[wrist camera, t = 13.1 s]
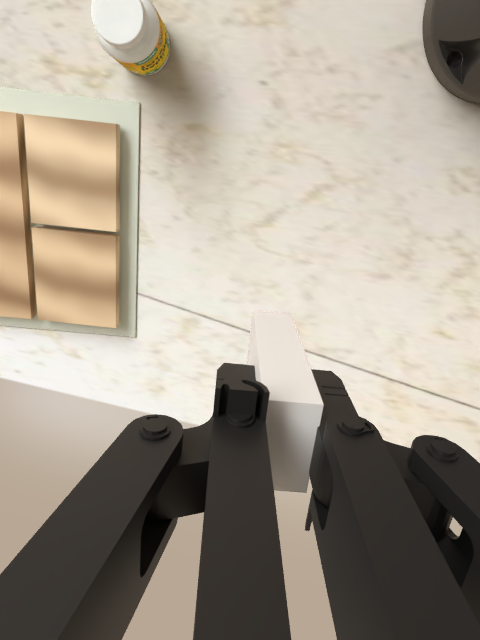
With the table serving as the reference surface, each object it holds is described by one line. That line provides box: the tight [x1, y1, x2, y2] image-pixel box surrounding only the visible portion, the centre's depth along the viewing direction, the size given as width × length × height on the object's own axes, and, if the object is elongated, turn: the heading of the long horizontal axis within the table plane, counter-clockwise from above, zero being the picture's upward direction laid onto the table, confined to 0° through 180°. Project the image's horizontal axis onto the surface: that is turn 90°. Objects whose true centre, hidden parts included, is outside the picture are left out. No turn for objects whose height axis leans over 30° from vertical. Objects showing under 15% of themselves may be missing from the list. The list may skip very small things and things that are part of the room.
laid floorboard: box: [0, 111, 37, 319], centre depth 46 cm, size 22×5×1 cm, turn 174°
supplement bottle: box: [91, 0, 170, 75], centre depth 36 cm, size 5×5×10 cm
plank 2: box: [31, 226, 120, 328], centre depth 48 cm, size 10×9×1 cm
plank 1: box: [24, 114, 120, 232], centre depth 44 cm, size 10×9×1 cm
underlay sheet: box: [0, 87, 140, 337], centre depth 46 cm, size 26×18×1 cm
